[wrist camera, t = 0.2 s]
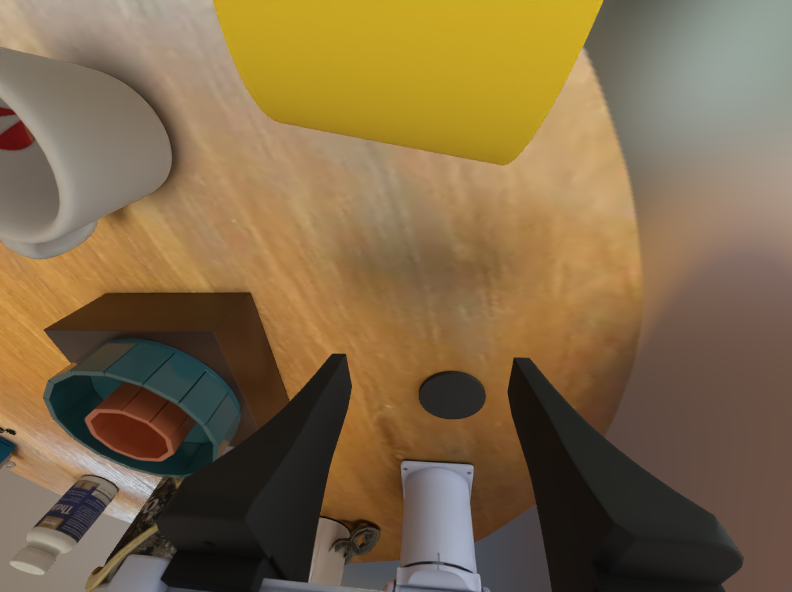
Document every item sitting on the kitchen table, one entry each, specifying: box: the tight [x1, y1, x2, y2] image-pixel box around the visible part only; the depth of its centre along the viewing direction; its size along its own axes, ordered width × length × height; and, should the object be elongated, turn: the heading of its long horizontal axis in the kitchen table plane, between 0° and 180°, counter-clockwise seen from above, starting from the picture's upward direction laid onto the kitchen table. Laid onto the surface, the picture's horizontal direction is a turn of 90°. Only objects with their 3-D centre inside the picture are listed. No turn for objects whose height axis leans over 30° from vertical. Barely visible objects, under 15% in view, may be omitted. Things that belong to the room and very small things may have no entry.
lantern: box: [85, 446, 234, 592], centre depth 27 cm, size 9×8×25 cm
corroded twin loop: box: [328, 525, 380, 565], centre depth 43 cm, size 5×8×1 cm
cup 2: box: [308, 518, 350, 586], centre depth 41 cm, size 8×12×10 cm
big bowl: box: [43, 338, 241, 478], centre depth 23 cm, size 12×12×3 cm
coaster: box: [419, 371, 486, 419], centre depth 28 cm, size 6×6×1 cm
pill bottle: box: [10, 476, 117, 575], centre depth 41 cm, size 5×5×10 cm
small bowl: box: [85, 382, 197, 462], centre depth 23 cm, size 6×6×3 cm
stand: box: [44, 293, 289, 447], centre depth 27 cm, size 13×13×5 cm
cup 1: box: [0, 47, 172, 259], centre depth 16 cm, size 11×8×8 cm
